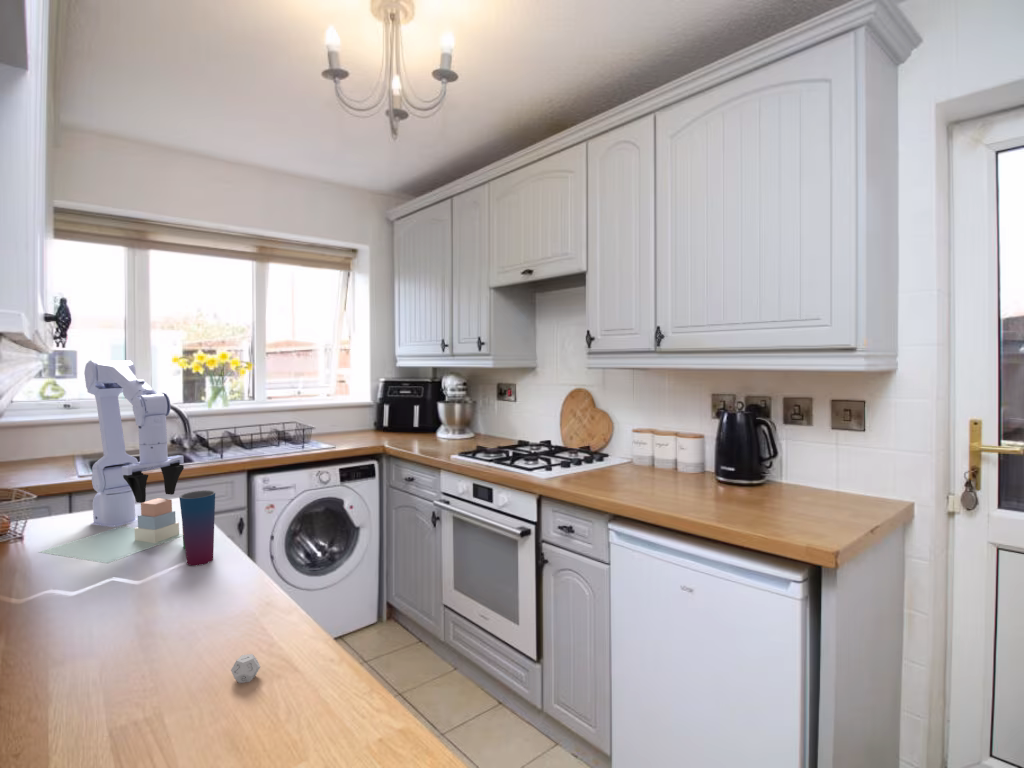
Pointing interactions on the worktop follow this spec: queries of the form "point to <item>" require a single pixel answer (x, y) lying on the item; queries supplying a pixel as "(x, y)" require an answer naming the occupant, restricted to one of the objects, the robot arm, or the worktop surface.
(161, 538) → the brick
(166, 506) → the brick
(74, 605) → the worktop surface
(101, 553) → the baseplate
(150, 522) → the brick
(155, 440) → the robot arm
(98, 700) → the worktop surface
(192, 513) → the cup
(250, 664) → the game die
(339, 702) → the worktop surface
